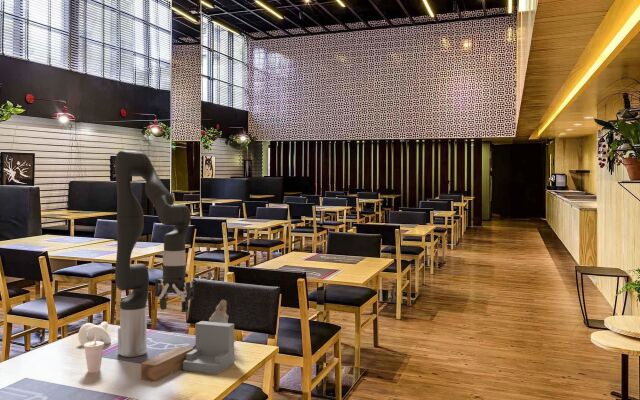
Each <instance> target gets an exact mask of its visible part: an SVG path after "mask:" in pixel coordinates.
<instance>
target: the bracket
mask: <svg viewBox="0 0 640 400" xmlns="http://www.w3.org/2000/svg"><path fill="white" fill-rule="evenodd" d="M195 344H196V349H194V350H192V351H190V352H189V353H187V354H186V360H185V361H183V368H182V371H186V372H187V371H188V372H194V373H195V372H196V373H203V374H204V373H205V374H212V375H219V374H220V373H222V372H223V371H225V370H226V369H227V368H229V367H230V366H232V365H233V364H235V323H230V322H228V323H219V322H209V320H208V321H205V320H201V321H199V322H196V323H195Z"/></svg>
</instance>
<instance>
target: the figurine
mask: <svg viewBox="0 0 640 400" xmlns="http://www.w3.org/2000/svg"><path fill="white" fill-rule="evenodd" d="M227 304H228V302H227V300H225V299H221V301H220V302H219V303H218V305H216V307H215V311H214V312H213V313H212V314H211V316H210V317H212V320H213V321H214V322H219V323H229V322H228V321H229V314H227Z"/></svg>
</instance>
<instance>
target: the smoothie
mask: <svg viewBox="0 0 640 400" xmlns="http://www.w3.org/2000/svg"><path fill="white" fill-rule="evenodd" d="M104 347H105V344H104V342H102V341H96V330H94V341H93V342H88V343H85V344H84V346H83V349H84V353H85V360H86V366H87V367H86V368H87V372H88V373H89V374H96V373H100V372H101V367H102V359H103V350H104Z"/></svg>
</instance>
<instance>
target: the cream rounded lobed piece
mask: <svg viewBox="0 0 640 400" xmlns="http://www.w3.org/2000/svg"><path fill="white" fill-rule="evenodd" d="M108 327H109V323H108V322H107V321H102V322H100V325H96V324H94V323H91V322H87V323H85V324H83V325H82V326H80V328H79V331H78V335H77V336H78V337H77V338H78V341H79V344H80V346H82V347H84V344H85V343H88V342H93V341H94V330H96V341H102V342H104V345H108V344H111V342H112V338H111V336H110V334H109V332H108V331H107V329H108Z"/></svg>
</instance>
